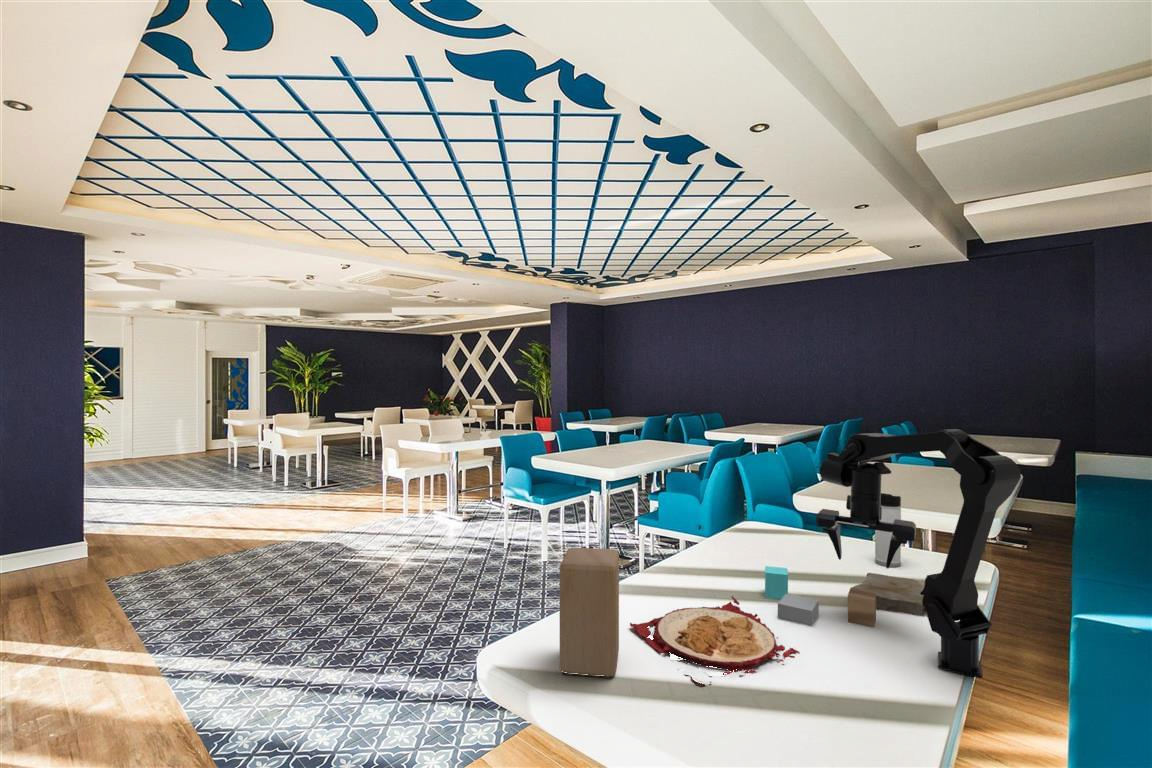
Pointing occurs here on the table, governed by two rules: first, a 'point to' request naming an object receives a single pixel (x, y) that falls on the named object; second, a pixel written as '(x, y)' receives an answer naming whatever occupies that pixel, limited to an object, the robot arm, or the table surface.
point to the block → (589, 611)
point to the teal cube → (776, 582)
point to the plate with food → (714, 637)
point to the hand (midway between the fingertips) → (863, 563)
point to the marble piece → (895, 593)
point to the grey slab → (798, 609)
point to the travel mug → (882, 538)
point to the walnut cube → (862, 607)
